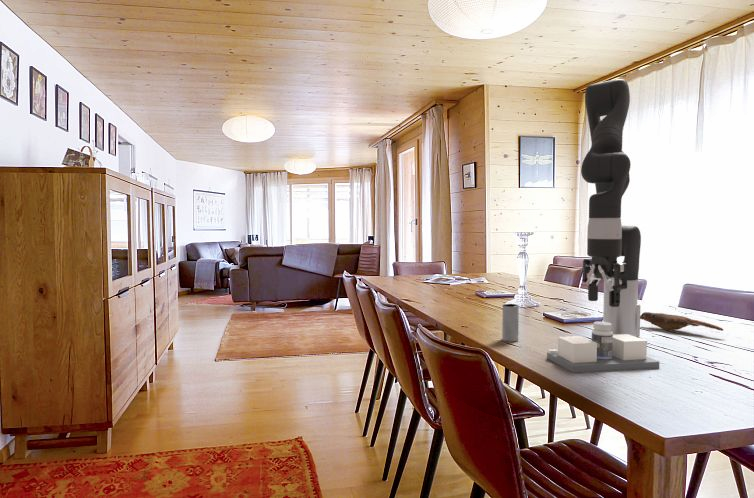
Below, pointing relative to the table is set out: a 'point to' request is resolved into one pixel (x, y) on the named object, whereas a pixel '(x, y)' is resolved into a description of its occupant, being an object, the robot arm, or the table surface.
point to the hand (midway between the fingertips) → (603, 303)
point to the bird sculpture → (673, 321)
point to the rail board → (583, 358)
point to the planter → (510, 322)
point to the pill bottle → (603, 339)
